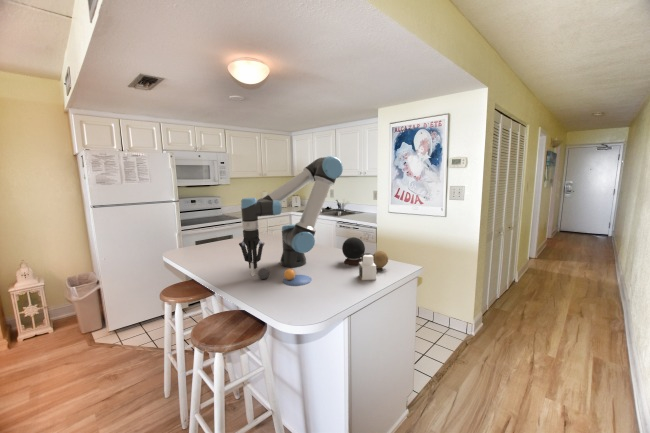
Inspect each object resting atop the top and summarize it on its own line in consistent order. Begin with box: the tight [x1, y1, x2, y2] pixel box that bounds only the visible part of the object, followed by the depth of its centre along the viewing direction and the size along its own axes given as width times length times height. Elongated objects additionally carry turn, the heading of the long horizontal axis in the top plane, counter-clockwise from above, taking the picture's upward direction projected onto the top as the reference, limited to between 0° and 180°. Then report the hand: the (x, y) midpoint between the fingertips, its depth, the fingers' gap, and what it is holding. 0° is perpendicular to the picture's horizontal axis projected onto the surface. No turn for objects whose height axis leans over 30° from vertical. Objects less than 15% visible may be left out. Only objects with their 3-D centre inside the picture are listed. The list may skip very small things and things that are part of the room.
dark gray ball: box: [257, 267, 270, 280], centre depth 144 cm, size 6×6×6 cm
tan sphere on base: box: [373, 250, 389, 269], centre depth 154 cm, size 9×9×10 cm
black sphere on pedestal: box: [341, 236, 366, 267], centre depth 166 cm, size 13×13×15 cm
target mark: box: [282, 274, 312, 287], centre depth 141 cm, size 14×14×1 cm
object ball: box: [283, 268, 296, 280], centre depth 142 cm, size 6×6×6 cm
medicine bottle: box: [358, 252, 377, 281], centre depth 142 cm, size 7×7×12 cm
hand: (253, 274), depth 145 cm, fingers closed
